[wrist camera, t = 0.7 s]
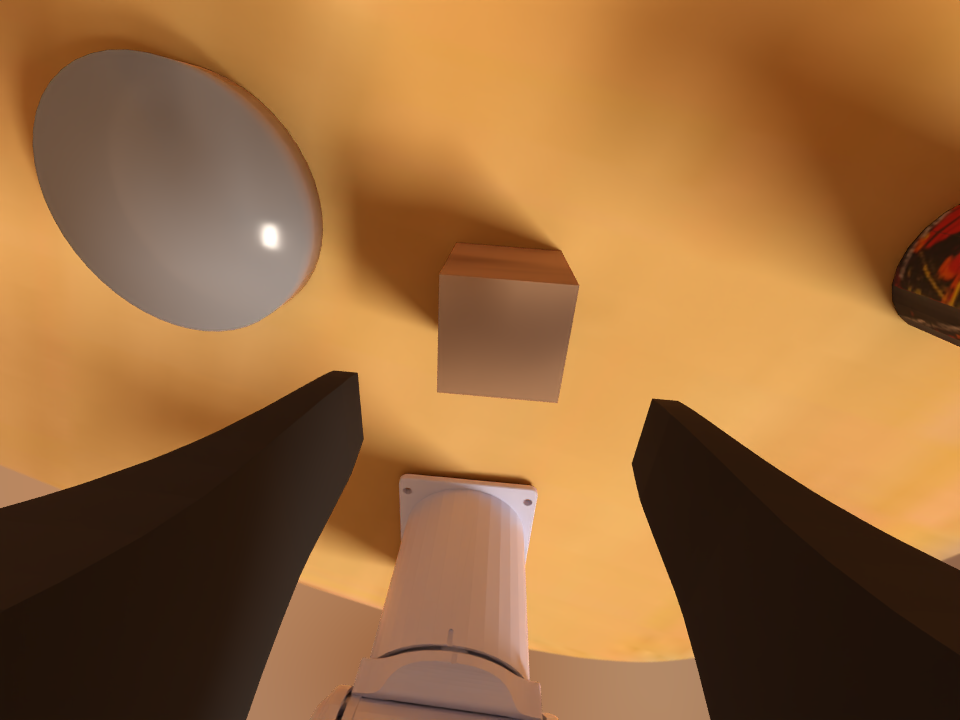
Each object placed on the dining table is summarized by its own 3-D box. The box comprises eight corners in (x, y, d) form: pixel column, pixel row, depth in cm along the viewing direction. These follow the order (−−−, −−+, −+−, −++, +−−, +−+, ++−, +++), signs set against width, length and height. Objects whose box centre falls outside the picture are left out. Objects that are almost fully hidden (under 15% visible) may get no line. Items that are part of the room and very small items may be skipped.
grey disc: (334, 323, 19) (316, 340, 18) (131, 305, 20) (94, 321, 18) (306, 70, 15) (278, 59, 13) (41, 52, 15) (-21, 39, 13)
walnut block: (546, 345, 19) (557, 402, 15) (453, 337, 20) (437, 392, 15) (560, 250, 17) (579, 285, 13) (456, 242, 17) (438, 274, 13)
